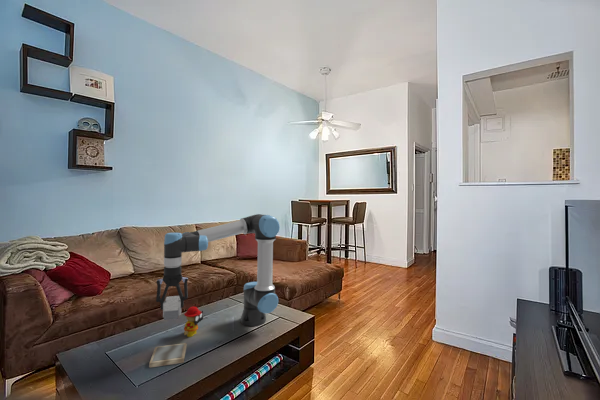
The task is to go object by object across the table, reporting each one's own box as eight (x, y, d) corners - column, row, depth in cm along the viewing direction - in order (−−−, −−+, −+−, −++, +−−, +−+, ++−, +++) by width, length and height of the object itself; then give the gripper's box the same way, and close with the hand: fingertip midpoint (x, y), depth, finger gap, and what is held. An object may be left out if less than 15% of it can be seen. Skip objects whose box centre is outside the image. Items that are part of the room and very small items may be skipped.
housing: (178, 318, 132) (178, 301, 132) (163, 320, 130) (164, 302, 130) (180, 312, 139) (180, 295, 139) (166, 313, 138) (166, 296, 138)
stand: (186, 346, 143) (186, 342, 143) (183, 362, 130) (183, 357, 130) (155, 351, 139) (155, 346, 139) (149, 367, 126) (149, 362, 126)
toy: (194, 340, 150) (194, 311, 150) (178, 338, 152) (178, 310, 152) (205, 330, 161) (205, 303, 161) (190, 328, 163) (191, 302, 163)
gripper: (194, 263, 141) (194, 310, 141) (151, 265, 135) (151, 314, 135) (193, 266, 134) (193, 316, 134) (148, 269, 128) (147, 320, 128)
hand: (172, 315), depth 135 cm, fingers closed on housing, 6 cm apart
